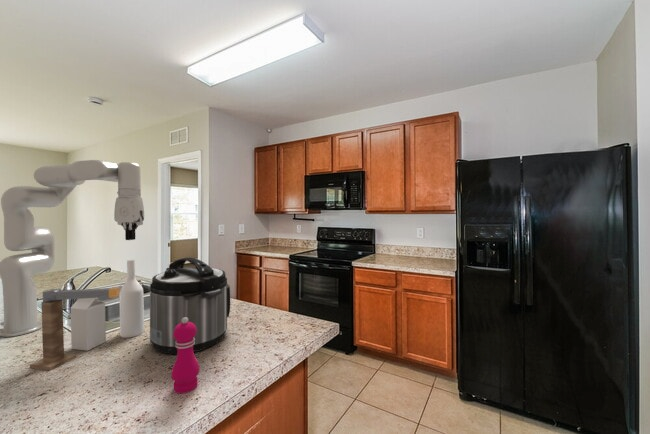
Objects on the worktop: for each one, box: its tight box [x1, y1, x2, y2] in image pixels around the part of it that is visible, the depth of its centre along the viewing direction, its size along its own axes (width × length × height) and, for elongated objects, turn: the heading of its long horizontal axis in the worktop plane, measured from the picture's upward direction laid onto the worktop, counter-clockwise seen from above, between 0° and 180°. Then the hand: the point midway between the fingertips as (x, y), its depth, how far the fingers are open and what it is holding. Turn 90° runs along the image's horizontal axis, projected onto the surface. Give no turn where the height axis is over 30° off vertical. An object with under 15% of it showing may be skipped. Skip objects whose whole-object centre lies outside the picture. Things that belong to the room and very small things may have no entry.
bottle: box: [118, 258, 145, 338], centre depth 118 cm, size 8×8×30 cm
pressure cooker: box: [149, 257, 231, 355], centre depth 113 cm, size 30×28×32 cm
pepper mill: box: [170, 317, 200, 394], centre depth 83 cm, size 7×7×20 cm
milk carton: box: [70, 298, 107, 352], centre depth 108 cm, size 7×7×19 cm
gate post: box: [29, 299, 77, 371], centre depth 96 cm, size 8×8×20 cm
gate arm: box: [42, 286, 121, 302], centre depth 97 cm, size 21×4×3 cm, turn 101°
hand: (130, 239), depth 117 cm, fingers closed
